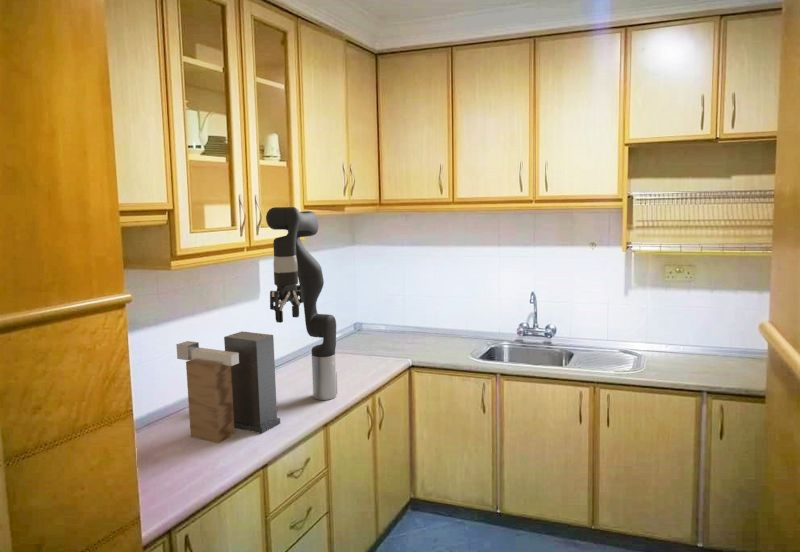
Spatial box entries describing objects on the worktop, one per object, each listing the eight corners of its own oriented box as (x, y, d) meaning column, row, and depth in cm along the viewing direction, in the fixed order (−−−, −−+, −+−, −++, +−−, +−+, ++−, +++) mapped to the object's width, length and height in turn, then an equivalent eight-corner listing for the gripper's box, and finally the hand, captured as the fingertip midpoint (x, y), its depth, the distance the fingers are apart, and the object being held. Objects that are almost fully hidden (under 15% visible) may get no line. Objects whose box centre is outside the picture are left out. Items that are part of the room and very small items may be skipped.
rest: (208, 428, 218) (203, 355, 214) (234, 434, 212) (230, 359, 209) (190, 436, 211) (185, 361, 207) (217, 442, 205) (213, 365, 202)
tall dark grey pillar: (245, 416, 229) (240, 330, 224) (280, 423, 222) (276, 334, 217) (225, 426, 220) (220, 336, 216) (262, 433, 213) (257, 341, 208)
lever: (188, 355, 215) (187, 341, 215) (240, 362, 205) (239, 347, 204) (177, 358, 211) (176, 344, 210) (230, 366, 201) (229, 351, 200)
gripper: (289, 266, 208) (291, 314, 211) (261, 272, 196) (264, 323, 198) (308, 267, 205) (310, 316, 207) (281, 273, 192) (283, 325, 195)
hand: (287, 319), depth 203 cm, fingers open, 8 cm apart
